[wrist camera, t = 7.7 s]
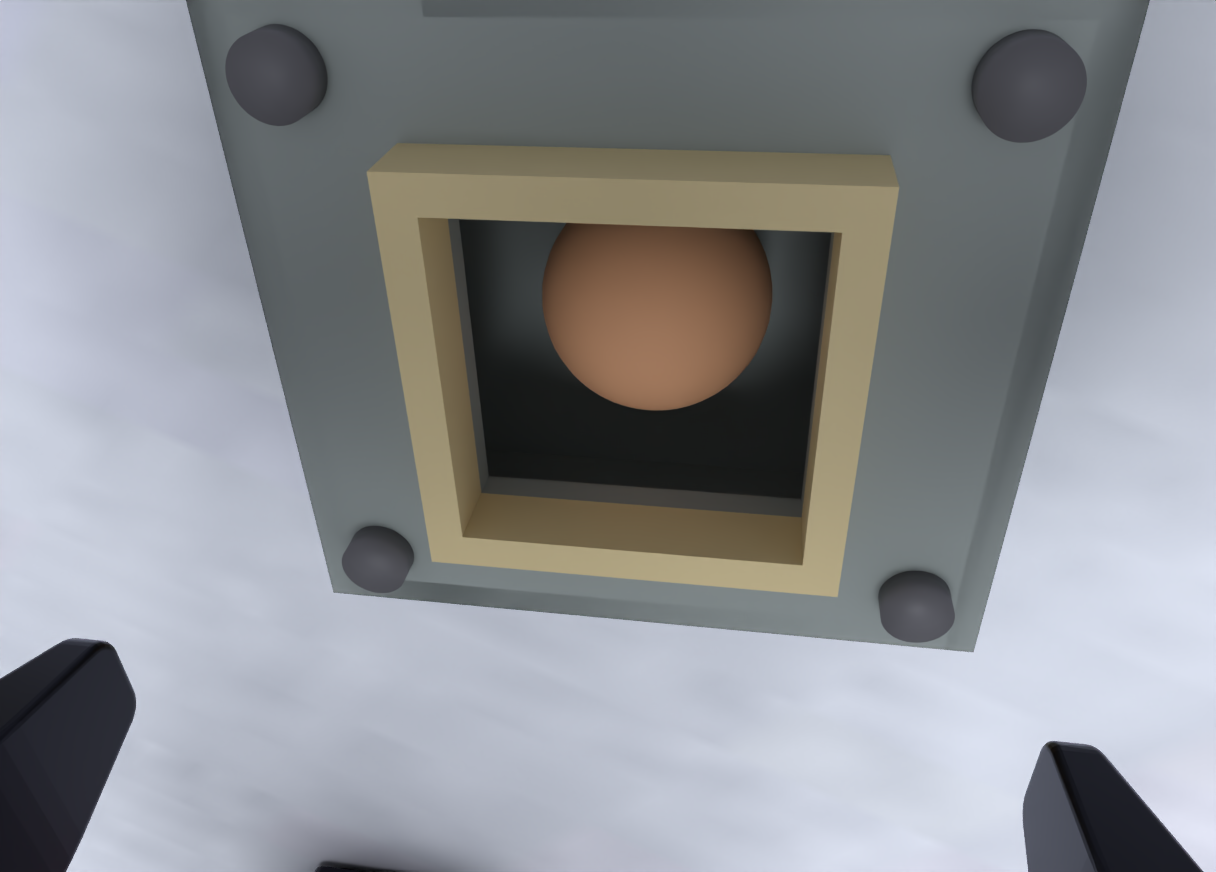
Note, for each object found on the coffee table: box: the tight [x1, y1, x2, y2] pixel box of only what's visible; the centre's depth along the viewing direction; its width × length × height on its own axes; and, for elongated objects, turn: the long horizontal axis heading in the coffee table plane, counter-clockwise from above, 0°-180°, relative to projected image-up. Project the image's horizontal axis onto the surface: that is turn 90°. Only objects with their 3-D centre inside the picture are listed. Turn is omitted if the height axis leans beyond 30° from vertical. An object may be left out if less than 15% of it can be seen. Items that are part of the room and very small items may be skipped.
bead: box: [542, 223, 772, 410], centre depth 17 cm, size 4×4×4 cm
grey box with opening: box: [186, 0, 1150, 652], centre depth 16 cm, size 12×11×6 cm
